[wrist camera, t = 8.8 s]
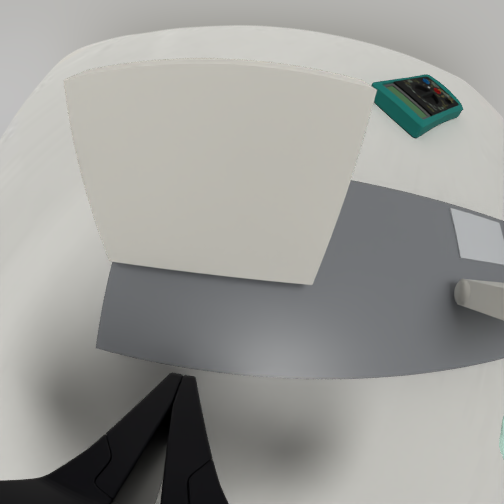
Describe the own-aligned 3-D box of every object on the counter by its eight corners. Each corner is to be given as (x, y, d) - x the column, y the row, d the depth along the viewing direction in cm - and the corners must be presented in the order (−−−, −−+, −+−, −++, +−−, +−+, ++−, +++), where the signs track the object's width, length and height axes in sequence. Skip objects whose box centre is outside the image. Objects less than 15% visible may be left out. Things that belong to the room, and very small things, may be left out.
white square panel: (309, 291, 13) (376, 89, 6) (112, 267, 13) (63, 79, 6) (307, 266, 14) (361, 79, 8) (122, 245, 14) (87, 69, 7)
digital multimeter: (457, 118, 27) (467, 105, 24) (412, 143, 23) (424, 124, 21) (420, 85, 29) (428, 70, 26) (363, 98, 25) (371, 78, 23)
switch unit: (505, 356, 15) (526, 352, 13) (114, 350, 15) (94, 348, 12) (491, 233, 20) (508, 221, 17) (153, 180, 19) (144, 157, 17)
